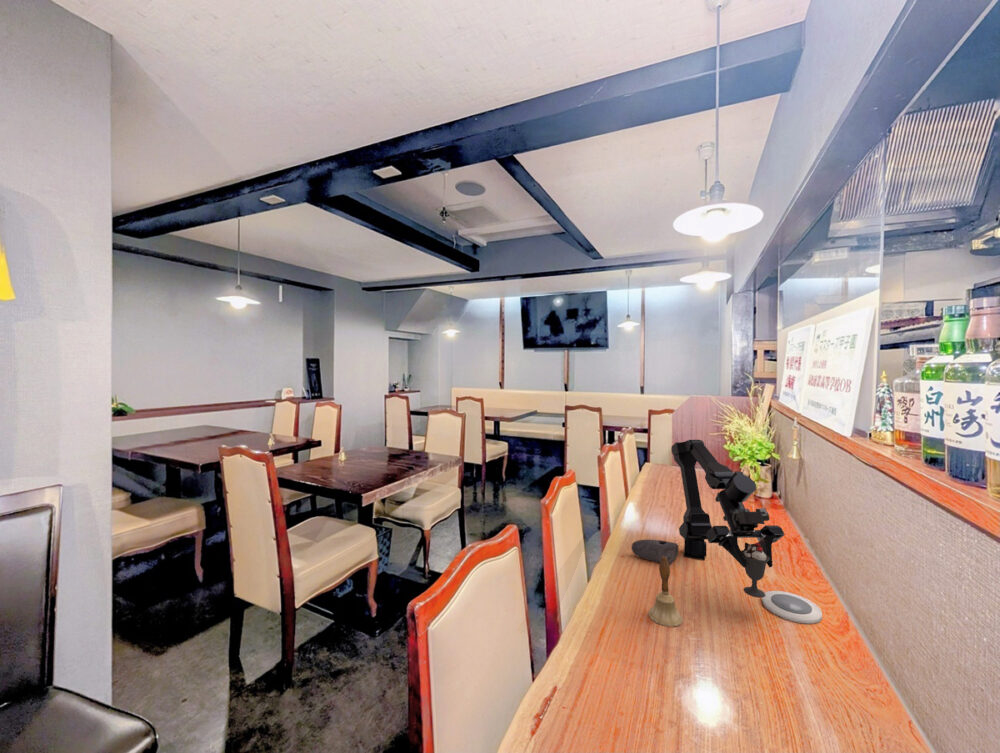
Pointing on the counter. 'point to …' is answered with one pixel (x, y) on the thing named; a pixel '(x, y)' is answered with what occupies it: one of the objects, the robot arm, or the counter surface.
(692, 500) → the robot arm
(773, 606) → the serving plate
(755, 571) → the sundae
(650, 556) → the perforated stone tool
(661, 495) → the counter surface
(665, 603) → the hand bell
